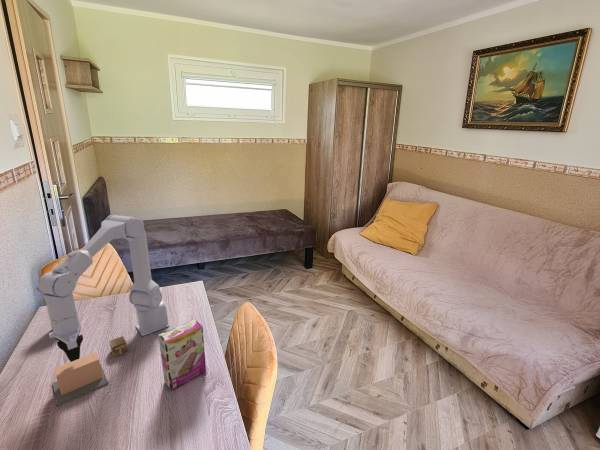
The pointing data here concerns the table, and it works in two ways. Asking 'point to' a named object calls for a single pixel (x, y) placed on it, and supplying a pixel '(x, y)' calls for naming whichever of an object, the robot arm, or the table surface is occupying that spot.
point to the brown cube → (118, 346)
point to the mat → (78, 390)
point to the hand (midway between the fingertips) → (74, 357)
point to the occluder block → (78, 373)
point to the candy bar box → (182, 353)
